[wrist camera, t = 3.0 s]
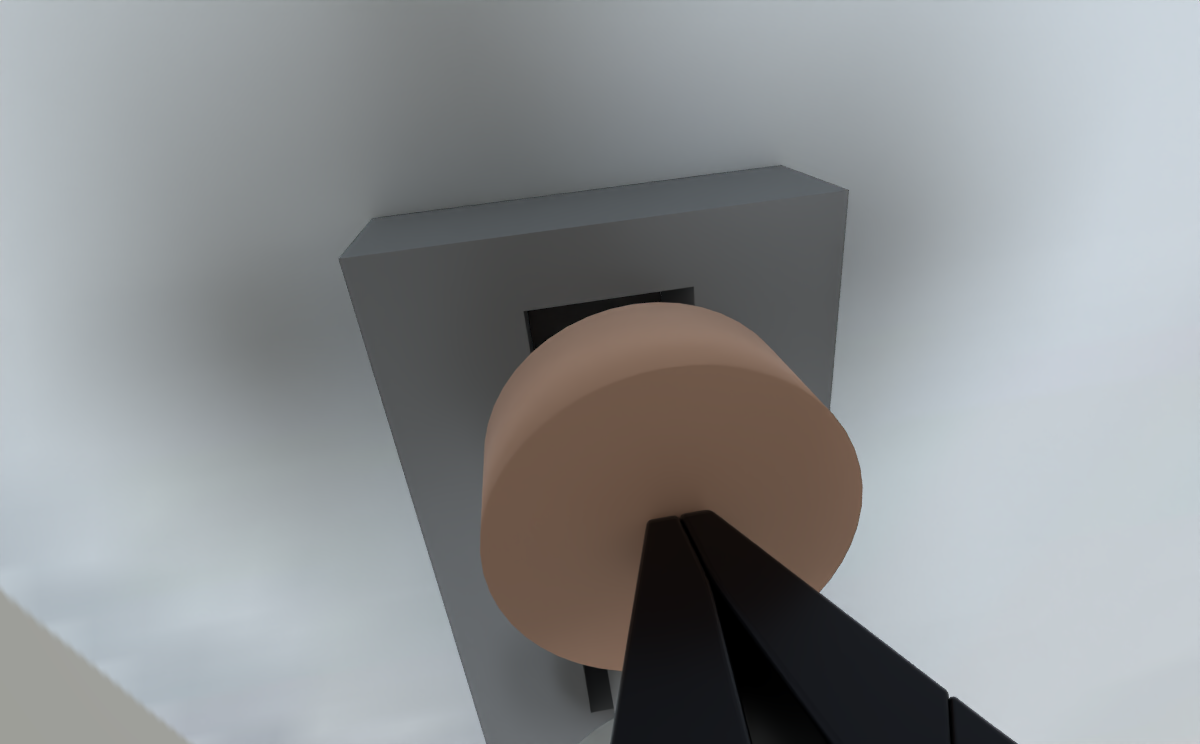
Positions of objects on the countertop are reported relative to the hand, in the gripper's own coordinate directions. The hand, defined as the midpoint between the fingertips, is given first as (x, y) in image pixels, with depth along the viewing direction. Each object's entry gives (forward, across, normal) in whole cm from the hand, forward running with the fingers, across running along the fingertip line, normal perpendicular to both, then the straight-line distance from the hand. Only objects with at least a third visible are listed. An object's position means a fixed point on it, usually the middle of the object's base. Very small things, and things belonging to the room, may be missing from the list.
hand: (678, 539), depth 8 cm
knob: (+5, 0, 0) cm, 5 cm away
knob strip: (+8, 0, +8) cm, 11 cm away
